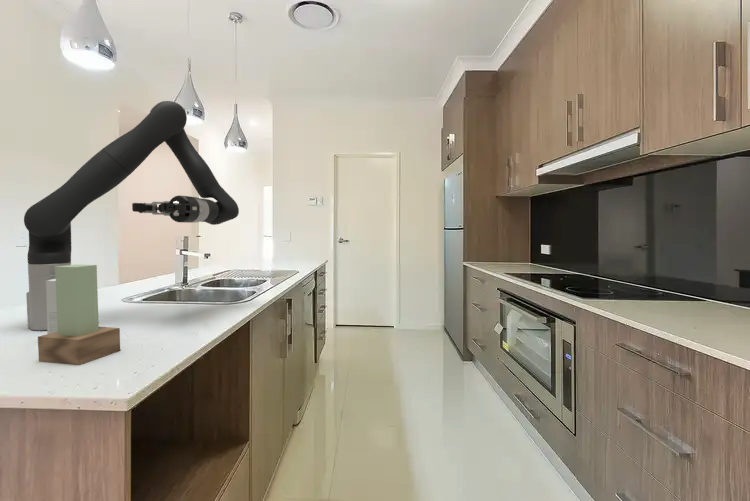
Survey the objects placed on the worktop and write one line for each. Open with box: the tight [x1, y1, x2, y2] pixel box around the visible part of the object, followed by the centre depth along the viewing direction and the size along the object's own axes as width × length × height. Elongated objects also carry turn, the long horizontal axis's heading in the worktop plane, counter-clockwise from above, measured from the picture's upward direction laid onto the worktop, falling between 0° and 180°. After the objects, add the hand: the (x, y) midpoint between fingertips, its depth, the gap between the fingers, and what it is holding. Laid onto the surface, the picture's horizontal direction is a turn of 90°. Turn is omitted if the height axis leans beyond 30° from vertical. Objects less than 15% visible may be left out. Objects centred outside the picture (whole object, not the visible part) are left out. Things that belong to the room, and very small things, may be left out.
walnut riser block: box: [37, 326, 121, 366], centre depth 90 cm, size 10×10×5 cm
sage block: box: [55, 264, 100, 336], centre depth 89 cm, size 5×5×14 cm
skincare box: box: [46, 279, 58, 334], centre depth 104 cm, size 8×6×15 cm
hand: (147, 207), depth 108 cm, fingers open, 8 cm apart
